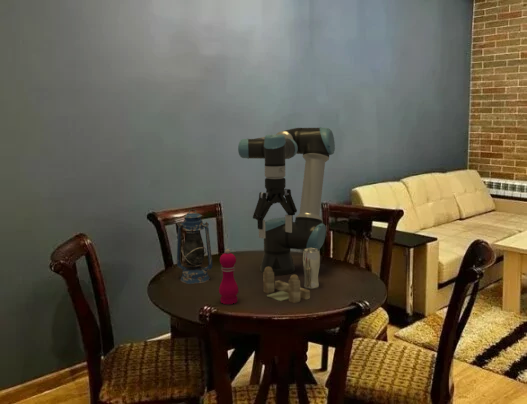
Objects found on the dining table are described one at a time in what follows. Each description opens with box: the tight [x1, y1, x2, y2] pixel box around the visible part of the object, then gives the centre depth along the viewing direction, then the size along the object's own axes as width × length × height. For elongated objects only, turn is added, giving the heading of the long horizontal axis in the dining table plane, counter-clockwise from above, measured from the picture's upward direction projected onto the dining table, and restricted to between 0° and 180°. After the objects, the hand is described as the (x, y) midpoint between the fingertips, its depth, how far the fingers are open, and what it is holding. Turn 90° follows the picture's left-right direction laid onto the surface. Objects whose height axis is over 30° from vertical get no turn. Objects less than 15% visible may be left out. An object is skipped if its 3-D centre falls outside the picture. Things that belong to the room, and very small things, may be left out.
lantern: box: [176, 208, 213, 285], centre depth 229 cm, size 15×12×30 cm
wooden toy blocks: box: [262, 266, 311, 304], centre depth 208 cm, size 18×10×10 cm, turn 40°
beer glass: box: [301, 248, 321, 290], centre depth 219 cm, size 7×7×15 cm
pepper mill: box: [218, 248, 240, 305], centre depth 202 cm, size 7×7×20 cm
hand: (275, 235), depth 203 cm, fingers open, 13 cm apart
